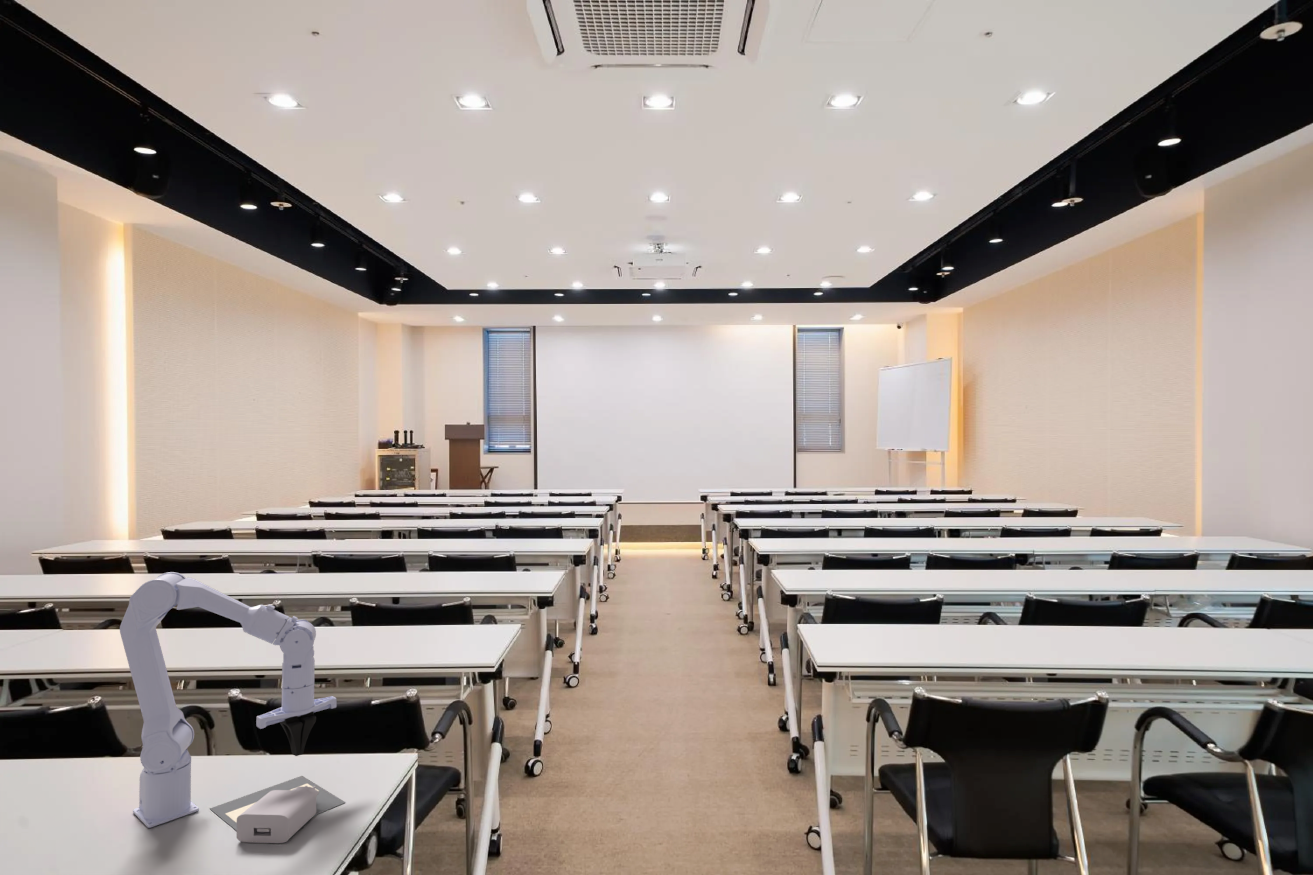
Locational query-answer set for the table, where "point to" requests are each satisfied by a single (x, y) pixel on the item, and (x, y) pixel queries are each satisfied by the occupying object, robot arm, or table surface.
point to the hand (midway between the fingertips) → (297, 753)
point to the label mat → (240, 805)
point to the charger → (277, 815)
